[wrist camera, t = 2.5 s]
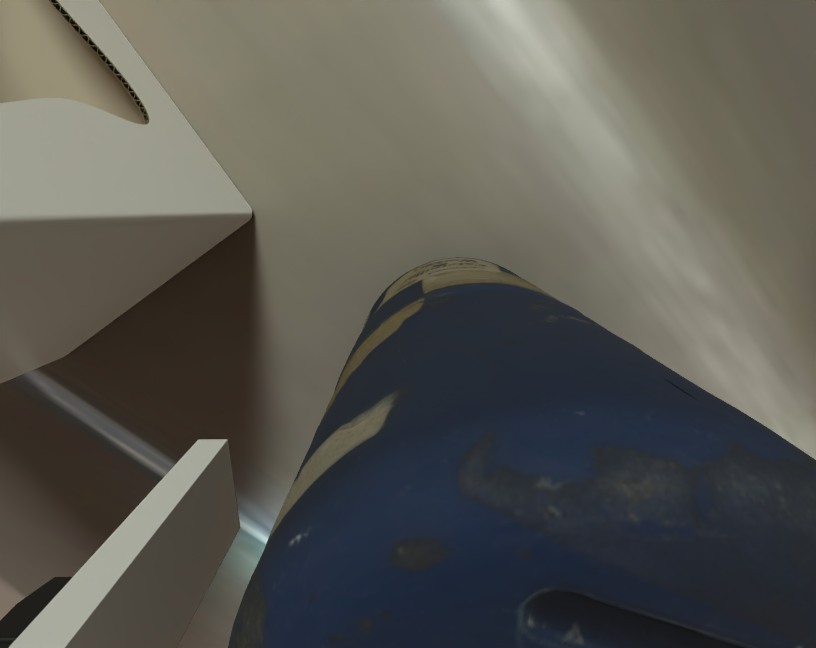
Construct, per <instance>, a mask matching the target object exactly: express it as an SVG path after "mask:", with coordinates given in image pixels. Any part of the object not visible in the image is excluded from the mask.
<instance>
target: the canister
mask: <svg viewBox="0 0 816 648" xmlns="http://www.w3.org/2000/svg"><path fill="white" fill-rule="evenodd" d="M228 648H816V460H815V459H813V458H812V457H810V456H809V455H807V454H806V453H804V452H803V451H801V450H800V449H798V448H797V447H795V446H794V445H792V444H791V443H789V442H788V441H787V440H785V439H784V438H782V437H781V436H779V435H778V434H776V433H775V432H773V431H772V430H770V429H769V428H767V427H765V426H764V425H762V424H761V423H759V422H757V421H756V420H754V419H753V418H751V417H749V416H748V415H746V414H744V413H743V412H741V411H740V410H738V409H736V408H735V407H733V406H731V405H729V404H727V403H726V402H724V401H722V400H720V399H719V398H717V397H715V396H713V395H712V394H710V393H708V392H706V391H705V390H703V389H702V388H700V387H698V386H697V385H695V384H693V383H692V382H690V381H689V380H687V379H685V378H684V377H682V376H680V375H679V374H677V373H676V372H674V371H672V370H671V369H669V368H668V367H666V366H664V365H663V364H661V363H660V362H658V361H656V360H655V359H653V358H652V357H650V356H649V355H647V354H645V353H644V352H643V351H641V350H640V349H638V348H637V347H635V346H634V345H632V344H630V343H628V342H627V341H625V340H623V339H622V338H620V337H618V336H616V335H615V334H613V333H611V332H610V331H608V330H607V329H605V328H603V327H602V326H600V325H599V324H597V323H596V322H594V321H592V320H591V319H589V318H588V317H586V316H584V315H583V314H582V313H580V312H579V311H577V310H576V309H574V308H572V307H570V306H568V305H566V304H564V303H562V302H560V301H559V300H557V299H556V298H554V297H552V296H551V295H549V294H547V293H546V292H544V291H542V290H541V289H539V288H538V287H536V286H535V285H533V284H531V283H529V282H527V281H526V280H524V279H522V278H521V277H519V276H517V275H516V274H514V273H513V272H511V271H509V270H507V269H505V268H503V267H501V266H499V265H496V264H493V263H490V262H487V261H483V260H478V259H472V258H447V259H441V260H436V261H432V262H429V263H426V264H423V265H421V266H419V267H417V268H415V269H413V270H411V271H409V272H407V273H406V274H404V275H403V276H401V277H400V278H398V279H397V280H396V281H394V282H393V283H392V284H391V285H390V286H389V287H388V288H387V289H386V290H385V291H384V292H383V293H382V295H381V296H380V297H379V299H378V300H377V301H376V303H375V304H374V306H373V308H372V309H371V311H370V313H369V315H368V317H367V319H366V321H365V324H364V327H363V331H362V333H361V334H360V336H359V338H358V340H357V342H356V344H355V345H354V347H353V349H352V351H351V353H350V355H349V357H348V360H347V362H346V364H345V366H344V368H343V370H342V373H341V375H340V377H339V380H338V383H337V385H336V388H335V392H334V395H333V397H332V399H331V401H330V403H329V405H328V407H327V410H326V412H325V414H324V417H323V419H322V421H321V423H320V425H319V427H318V429H317V431H316V433H315V435H314V438H313V441H312V444H311V446H310V448H309V450H308V452H307V454H306V456H305V459H304V461H303V463H302V465H301V467H300V470H299V472H298V474H297V476H296V478H295V480H294V483H293V485H292V487H291V489H290V491H289V493H288V495H287V497H286V499H285V502H284V504H283V506H282V508H281V511H280V513H279V515H278V517H277V520H276V522H275V524H274V526H273V529H272V531H271V533H270V536H269V539H268V541H267V544H266V547H265V549H264V552H263V554H262V556H261V558H260V560H259V562H258V564H257V567H256V569H255V571H254V573H253V575H252V577H251V580H250V582H249V584H248V586H247V589H246V591H245V593H244V596H243V599H242V602H241V604H240V607H239V610H238V613H237V616H236V619H235V622H234V625H233V628H232V632H231V637H230V641H229V646H228Z"/></svg>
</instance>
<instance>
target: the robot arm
mask: <svg viewBox="0 0 816 648" xmlns="http://www.w3.org/2000/svg"><path fill="white" fill-rule="evenodd" d="M239 529H240V523H239V516H238V509H237V501H236V494H235V487H234V480H233V473H232V465H231V458H230V451H229V444H228V439H198V440H197V441H196V443H195V444H194V445H193V446H192V447H191V448H190V449H189V450H188V451H187V452H186V453H185V455H184V456H183V457H182V458H181V459H180V460H179V461H178V462H177V463H176V464H175V466H174V467H173V468H172V469H171V470H170V471H169V472H168V473H167V474H166V475H165V477H164V478H163V479H162V480H161V481H160V482H159V483H158V484H157V485H156V486H155V487H154V489H153V490H152V491H151V492H150V493H149V494H148V495H147V496H146V497H145V498H144V500H143V501H142V502H141V503H140V504H139V505H138V506H137V507H136V508H135V509H134V511H133V512H132V513H131V514H130V515H129V516H128V517H127V518H126V519H125V520H124V521H123V523H122V524H121V525H120V526H119V527H118V528H117V529H116V530H115V531H114V532H113V534H112V535H111V536H110V537H109V538H108V539H107V540H106V541H105V542H104V543H103V545H102V546H101V547H100V548H99V549H98V550H97V551H96V552H95V553H94V554H93V555H92V557H91V558H90V559H89V560H88V561H87V562H86V563H85V564H84V565H83V566H82V568H81V569H80V570H79V571H78V572H77V573H76V574H75V575H74V576H73V577H54V578H53V579H51V580H50V581H49V582H47V583H46V584H44V585H43V586H42V587H40V588H39V589H37V590H36V591H34V592H33V593H32V594H30V595H29V596H27V597H26V598H25V599H23V600H22V601H20V602H19V603H18V604H16V605H15V607H13V608H12V609H11V610H10V612H8V614H7V615H6V616H5V617H4V618H3V619H2V620H1V621H0V648H177V646H178V644H179V643H180V641H181V639H182V637H183V635H184V633H185V631H186V629H187V627H188V625H189V624H190V622H191V620H192V618H193V616H194V614H195V612H196V610H197V608H198V606H199V605H200V603H201V601H202V599H203V597H204V595H205V593H206V591H207V589H208V587H209V586H210V584H211V582H212V580H213V578H214V576H215V574H216V572H217V570H218V568H219V567H220V565H221V563H222V561H223V559H224V557H225V555H226V553H227V551H228V549H229V548H230V546H231V544H232V542H233V540H234V538H235V536H236V534H237V532H238V530H239Z"/></svg>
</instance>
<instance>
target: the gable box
mask: <svg viewBox="0 0 816 648" xmlns="http://www.w3.org/2000/svg"><path fill="white" fill-rule="evenodd" d="M251 218H252V209H251V207H250V206H249V205H248V203H247V202H246V200H245V199H244V198H243V196H242V195H241V194H240V192H239V191H238V190H237V188H236V187H235V186H234V184H233V183H232V181H231V180H230V179H229V177H228V176H227V175H226V173H225V172H224V171H223V169H222V168H221V166H220V165H219V164H218V162H217V161H216V160H215V158H214V157H213V156H212V154H211V153H210V152H209V150H208V149H207V147H206V146H205V145H204V143H203V142H202V141H201V139H200V138H199V137H198V135H197V134H196V132H195V131H194V130H193V128H192V127H191V126H190V124H189V123H188V122H187V120H186V119H185V118H184V116H183V115H182V113H181V112H180V111H179V109H178V108H177V107H176V105H175V104H174V103H173V101H172V100H171V98H170V97H169V96H168V94H167V93H166V92H165V90H164V89H163V88H162V86H161V85H160V84H159V82H158V81H157V79H156V78H155V77H154V75H153V74H152V73H151V71H150V70H149V69H148V67H147V66H146V64H145V63H144V62H143V60H142V59H141V58H140V56H139V55H138V54H137V52H136V51H135V50H134V48H133V47H132V45H131V44H130V43H129V41H128V40H127V39H126V37H125V36H124V35H123V33H122V32H121V30H120V29H119V28H118V26H117V25H116V24H115V22H114V21H113V20H112V18H111V17H110V16H109V14H108V13H107V11H106V10H105V9H104V7H103V6H102V5H101V3H100V2H99V1H98V0H0V384H1V383H3V382H6V381H8V380H10V379H13V378H15V377H17V376H20V375H22V374H25V373H27V372H29V371H32V370H34V369H36V368H39V367H41V366H43V365H46V364H48V363H50V362H53V361H55V360H58V359H60V358H62V357H65V356H66V355H68V354H69V353H70V352H72V351H73V350H74V349H76V348H77V347H78V346H80V345H81V344H83V343H84V342H85V341H87V340H88V339H89V338H91V337H92V336H93V335H95V334H96V333H97V332H99V331H100V330H102V329H103V328H104V327H106V326H107V325H108V324H110V323H111V322H112V321H114V320H115V319H116V318H118V317H119V316H120V315H122V314H123V313H125V312H126V311H127V310H129V309H130V308H131V307H133V306H134V305H135V304H137V303H138V302H139V301H141V300H142V299H144V298H145V297H146V296H148V295H149V294H150V293H152V292H153V291H154V290H156V289H157V288H158V287H160V286H161V285H163V284H164V283H165V282H167V281H168V280H169V279H171V278H172V277H173V276H175V275H176V274H177V273H179V272H180V271H181V270H183V269H184V268H186V267H187V266H188V265H190V264H191V263H192V262H194V261H195V260H196V259H198V258H199V257H200V256H202V255H203V254H205V253H206V252H207V251H209V250H210V249H211V248H213V247H214V246H215V245H217V244H218V243H219V242H221V241H222V240H223V239H225V238H226V237H228V236H229V235H230V234H232V233H233V232H234V231H236V230H237V229H238V228H240V227H241V226H242V225H244V224H245V223H247V222H248V221H249V220H251Z"/></svg>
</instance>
